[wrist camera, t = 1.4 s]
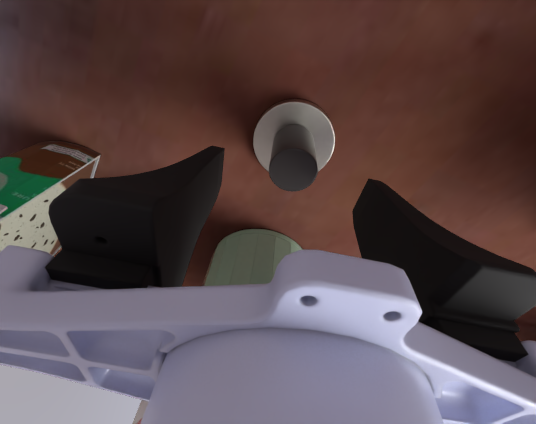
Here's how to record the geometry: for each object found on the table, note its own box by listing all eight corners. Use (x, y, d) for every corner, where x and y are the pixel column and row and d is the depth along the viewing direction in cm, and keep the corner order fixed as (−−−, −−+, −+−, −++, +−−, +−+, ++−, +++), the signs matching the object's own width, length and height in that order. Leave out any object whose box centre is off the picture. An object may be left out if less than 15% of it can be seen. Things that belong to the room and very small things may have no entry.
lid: (350, 141, 17) (363, 173, 14) (290, 187, 20) (289, 224, 16) (296, 78, 15) (297, 98, 12) (238, 138, 18) (224, 168, 14)
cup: (328, 268, 25) (335, 330, 20) (261, 303, 29) (255, 360, 24) (258, 211, 21) (247, 269, 16) (195, 260, 25) (172, 317, 21)
